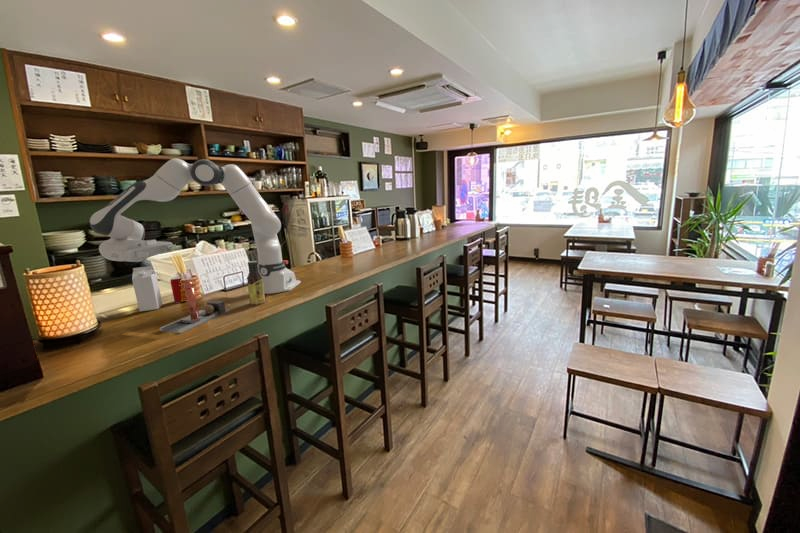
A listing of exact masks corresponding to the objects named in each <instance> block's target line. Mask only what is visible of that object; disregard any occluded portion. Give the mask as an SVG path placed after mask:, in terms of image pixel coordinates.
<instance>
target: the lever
mask: <svg viewBox="0 0 800 533" xmlns="http://www.w3.org/2000/svg"><path fill="white" fill-rule="evenodd" d="M194 286H195V284H194V283H193V281H189V280H188V281H186V282H185V284H184V288H185V292H186V297H187V301H186V303H187V306H188V312H189V315H190V316H189V315H188V316H189V317H187V318H184V317H183V318H184V319H182V318H181V319H182V322H185V323H194V322H196V321H198V320H201V319H203V318H205V317H203V315H205V314H206V312H205V310H203V309H200V310H199V307H198V302H197V296H196V291H195V287H194Z"/></svg>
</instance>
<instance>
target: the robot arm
mask: <svg viewBox="0 0 800 533" xmlns="http://www.w3.org/2000/svg"><path fill="white" fill-rule="evenodd" d="M191 182H195V183H197V184H198V185H200V186H204V187H209V186H214V185H218V184H220V185H221V186H223V188H224V189H225V190H226V192H227V193H228V194H229V196H230V197H231V198H232V200H233V201H234V203H235V204H236V205H237V206H238V208H239V209H240V211H242V213H243V214H244V215H245V216H246V218H247V219H248V220H249V221H250V224H251V230H252V234H253V238H254V243H255V246H256V251H257V252H256V253H257V258H258V259H257V261H258V270H259V273H260V275H261V277H262V279H263V287H264V295H266V294H267V295H269V294H276V293H282V292H290V291H292V290H293V289H294V288H296V287H297V286H298V285H299V284H301V280H299V279H296V275H295V274H296V273H295V272H294V271H292V270H290V269H289V268H287V267H286V265H288V264H289V260H285V259H283V255H282V247H281V243H280V240H279V237H278V233H279V232H280V231H281V230H282V229H281V228H282V223H281V220H280V218H279V216H277V214H276V213H275V211H273V209H272V208H271V207H270V205H269V204H268V203H267V202H266V201H265V200H264V198H263V197H262V196H261V195H260V193H259V191H258V190H257V189H256V187H255V186H254V184H253V183H252V181H251V180H250V178H249V177H248V175H246V173H245V172H244V171H243V170H242V169H241V168H240V167H239V166H238V165H236V164H233V163H231V164H226V165H224V166H220V165H219V164H216V163H215V162H213V161H211V160H209V159H206V158H205V159H198V160H196V161H195V162H194V163H193V162H192V163H188V162H186V161H185V160H183V159H180V158H176V157H174V158H173V157H172V158H171V159H169V160H167V161H166V162H165V163H164V164H163V165H162V166H161V167H159V169H158V170H156V172H155V173H154V174H153V175H152V176H150V177H149V178H148V179H144V180H141V181H140V180H138V181H136V182H134V183H132V184H131V185H130V186H128V187H127V188H126V189H124V190H123V191H121V193H119V194H118V195H117V196H116V197H114V198H113V199H112V200H111V201H109V203H107V204H106V205H104V206H103V207H101V208H100V209H98V210H96V211H95V212H93V213H92V214H91V216H90V217H89V221H88V223H89V226H90V228H91V230H92V231H93V232H94V233H95V234H99V235H102V236H106V237H110V238H109V239H107V240H104V241H103V242H101V244H99V246H98V252H99V254H100V255H101V256H102V257H103V258H104V259H107V260H109V261H113V262H114V261H115V262H132V263H133V262H134V263H139V262H143V261H145V260H147V259H149V258H152V257H154V256H157V255H160V254H162V255H163V254H167V253H171V252H174V249H175V248H174V244H173V242H171V241H161V240H156V239H146V240H145V237H146V230H145V227H144V225H143V224H142V223H139V222H138V221H137V220H133V219H131V218H128V217H126V216H123V215H121V214H122V213H123V212H125V211H127V209H128V208H129V207H131V206H132V205H133V204H134V203H136V202H138V201H139V202H140V201H146V200H147V201H153V202H154V201H155V202H160V203H161V202H163V203H164V202H170V201H172V200H174V199H176V198H177V197H178V196H179V194H180V193H181V192H182V191H183V190H184V188H185V187H186V186H187V185H188V184H189V183H191Z"/></svg>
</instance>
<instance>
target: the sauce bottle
mask: <svg viewBox="0 0 800 533" xmlns="http://www.w3.org/2000/svg"><path fill="white" fill-rule="evenodd" d="M258 264H259V260H250V261H247V266H248V275H247V277H246V278H247V279H246V280H247V289H248V297H249V303H250V306H254V307H255V306H256V307H257V306H261V305H263V304H265V303H266V299H265V298H266V297H265V296H266V294H265V293H264V287H263V279H262V277H261V275H260V271H259V268H258Z"/></svg>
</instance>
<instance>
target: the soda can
mask: <svg viewBox="0 0 800 533" xmlns="http://www.w3.org/2000/svg"><path fill="white" fill-rule="evenodd" d="M178 276H179V275H177V276H173V277H170V286H171V291H172V296H173V300H174V303H176V304H181V303H180V302H181V292H180V290H181V282H180V280H181V279H182V277H181V278H178Z"/></svg>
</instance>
